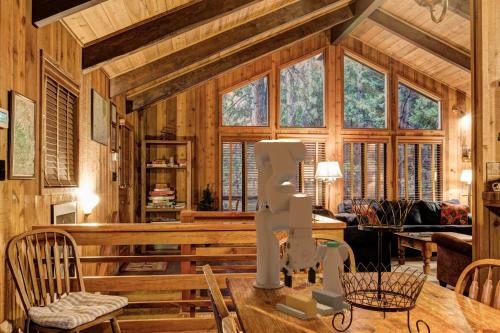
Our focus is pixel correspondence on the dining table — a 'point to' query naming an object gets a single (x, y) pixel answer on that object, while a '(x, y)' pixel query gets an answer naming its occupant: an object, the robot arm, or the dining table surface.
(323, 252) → the chalice
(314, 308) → the ochre bar
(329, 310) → the slot board
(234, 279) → the dining table surface
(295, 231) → the robot arm
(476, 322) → the dining table surface
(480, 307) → the dining table surface
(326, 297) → the slate bar
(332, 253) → the milk bottle
